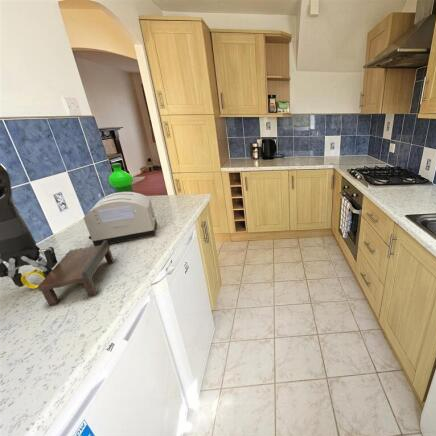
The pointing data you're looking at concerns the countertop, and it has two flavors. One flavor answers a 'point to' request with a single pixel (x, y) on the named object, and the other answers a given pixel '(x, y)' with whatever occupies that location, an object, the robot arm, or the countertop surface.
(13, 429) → the countertop surface
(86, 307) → the countertop surface
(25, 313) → the countertop surface
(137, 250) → the countertop surface
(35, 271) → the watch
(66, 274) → the small brown table
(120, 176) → the plastic bottle
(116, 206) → the toaster
